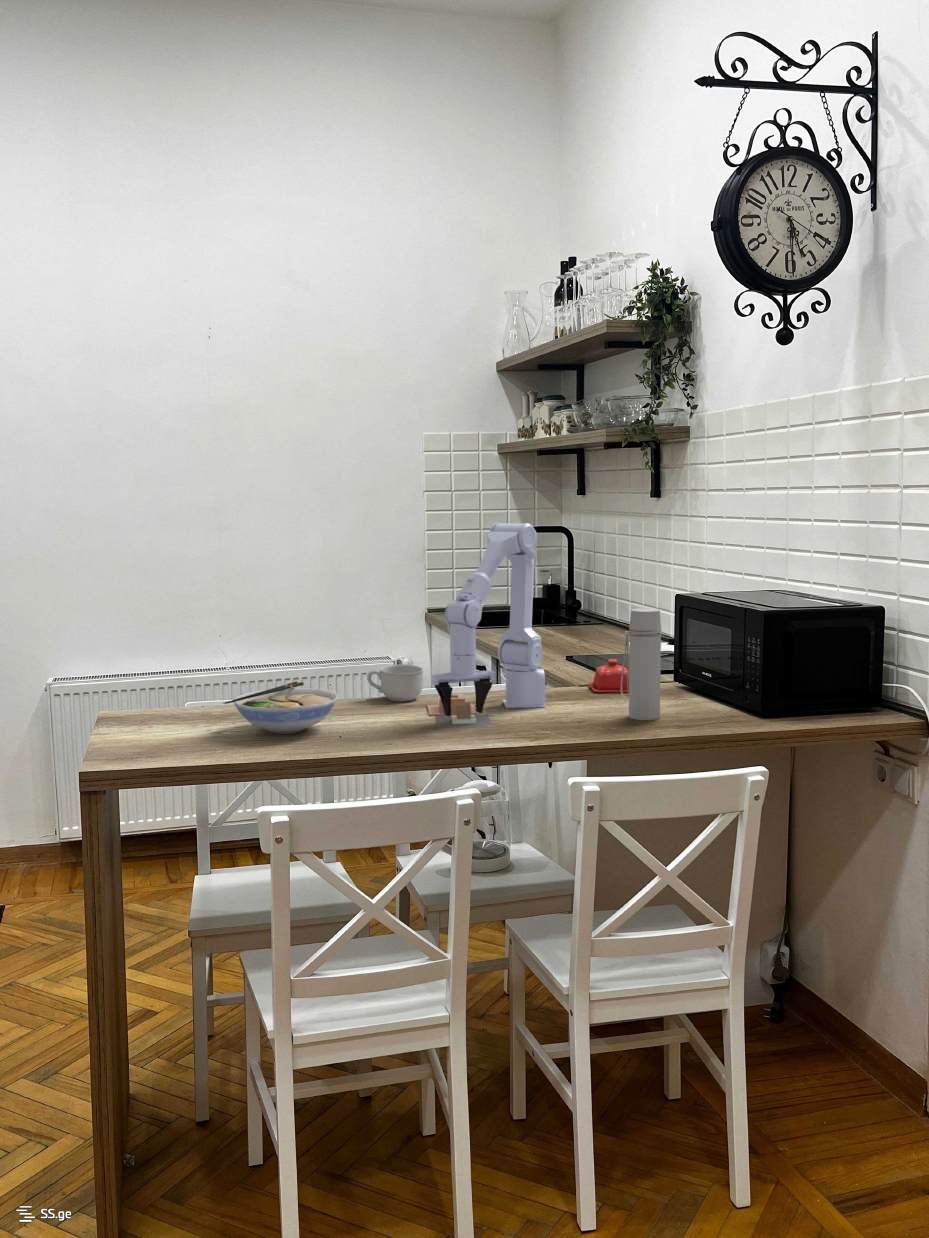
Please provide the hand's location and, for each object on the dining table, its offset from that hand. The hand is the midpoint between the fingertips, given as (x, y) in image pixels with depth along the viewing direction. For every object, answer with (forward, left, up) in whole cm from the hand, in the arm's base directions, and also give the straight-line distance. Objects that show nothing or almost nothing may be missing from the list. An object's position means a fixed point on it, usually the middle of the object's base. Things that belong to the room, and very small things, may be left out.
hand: (463, 713), depth 240 cm
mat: (0, 0, -2) cm, 2 cm away
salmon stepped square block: (+2, -13, -2) cm, 13 cm away
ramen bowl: (+39, +3, -2) cm, 39 cm away
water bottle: (-40, +1, -2) cm, 40 cm away
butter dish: (-41, -34, -3) cm, 53 cm away
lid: (0, 0, -2) cm, 2 cm away
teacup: (+15, -29, -2) cm, 33 cm away
